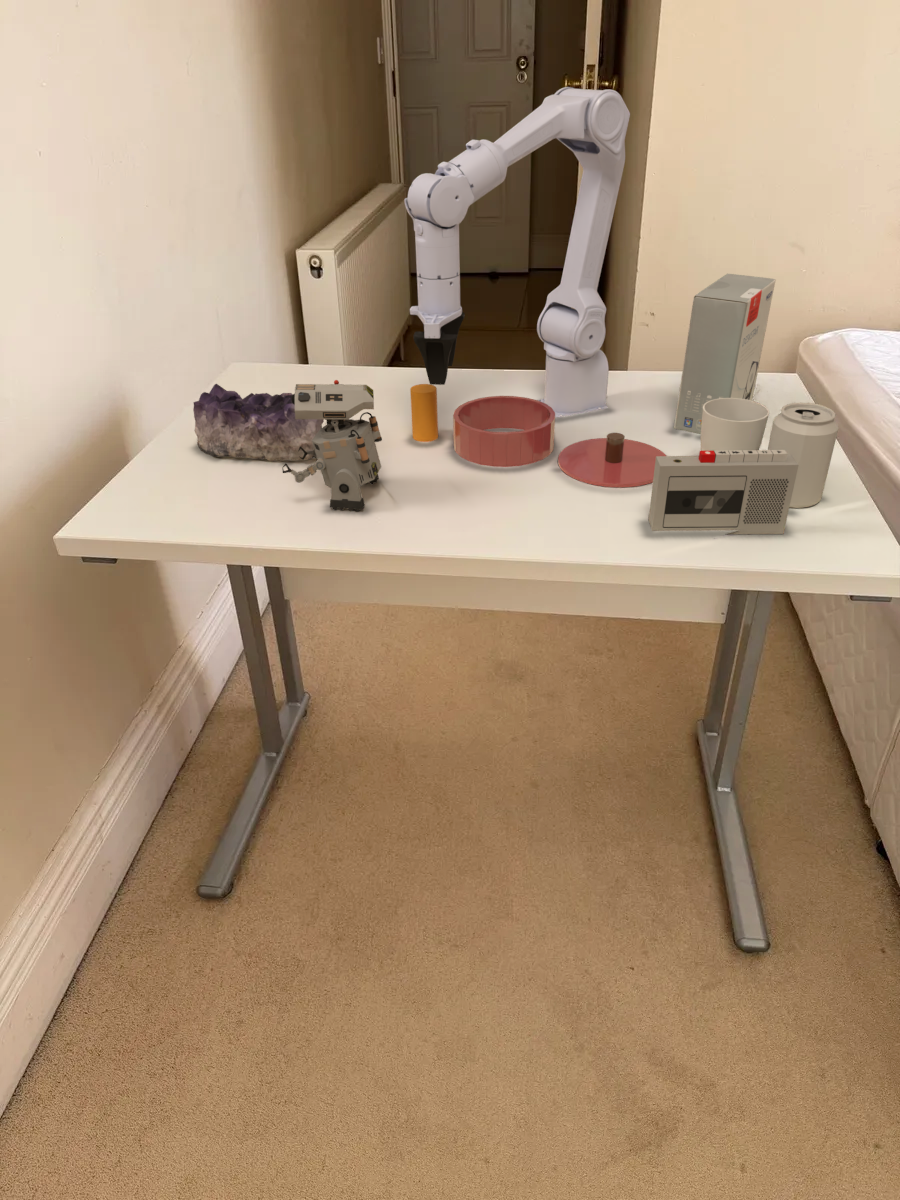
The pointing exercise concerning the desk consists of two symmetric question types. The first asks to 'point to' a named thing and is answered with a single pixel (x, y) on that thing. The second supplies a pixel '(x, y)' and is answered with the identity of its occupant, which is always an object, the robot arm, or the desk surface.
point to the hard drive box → (723, 345)
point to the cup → (733, 424)
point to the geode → (252, 426)
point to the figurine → (340, 439)
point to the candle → (424, 412)
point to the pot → (504, 445)
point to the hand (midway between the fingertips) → (441, 374)
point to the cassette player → (723, 491)
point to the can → (806, 447)
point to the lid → (610, 461)
